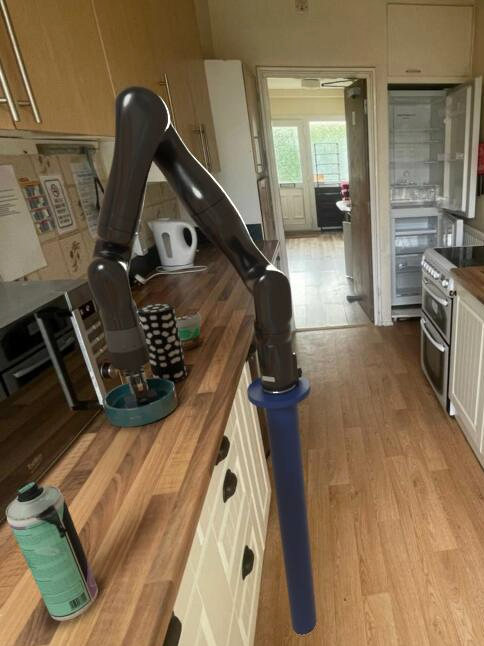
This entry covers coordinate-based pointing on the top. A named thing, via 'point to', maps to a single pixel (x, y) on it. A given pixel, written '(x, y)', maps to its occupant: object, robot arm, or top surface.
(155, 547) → the top surface
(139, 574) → the top surface
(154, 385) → the bowl
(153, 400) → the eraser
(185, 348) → the food container
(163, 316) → the spotted tube
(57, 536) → the spray can
